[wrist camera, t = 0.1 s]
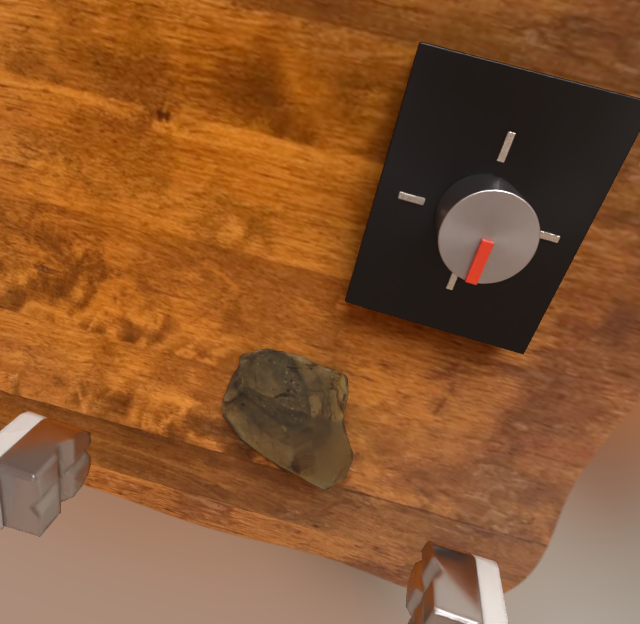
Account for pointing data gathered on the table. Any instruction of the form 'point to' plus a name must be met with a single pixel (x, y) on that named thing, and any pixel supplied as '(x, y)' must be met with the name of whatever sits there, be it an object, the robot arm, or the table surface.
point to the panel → (494, 159)
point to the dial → (485, 229)
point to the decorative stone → (291, 414)
